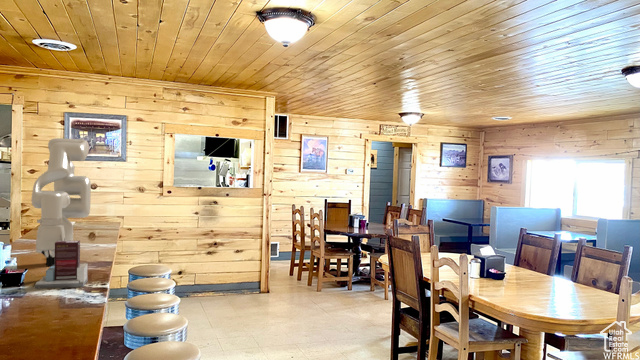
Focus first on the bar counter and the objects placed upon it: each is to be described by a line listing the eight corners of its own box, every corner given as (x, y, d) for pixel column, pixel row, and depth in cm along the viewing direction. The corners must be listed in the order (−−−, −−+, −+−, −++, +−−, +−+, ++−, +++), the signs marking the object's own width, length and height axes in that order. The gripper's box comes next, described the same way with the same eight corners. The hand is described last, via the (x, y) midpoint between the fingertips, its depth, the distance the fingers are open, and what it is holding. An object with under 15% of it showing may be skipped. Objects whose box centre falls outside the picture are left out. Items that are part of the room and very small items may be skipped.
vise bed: (41, 282, 194) (42, 263, 193) (87, 280, 199) (88, 262, 198) (34, 288, 184) (35, 269, 184) (83, 286, 189) (83, 268, 189)
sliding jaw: (55, 273, 202) (56, 262, 202) (62, 273, 202) (62, 262, 202) (45, 283, 186) (46, 270, 186) (52, 283, 187) (53, 270, 187)
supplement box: (80, 278, 196) (80, 240, 195) (77, 281, 191) (78, 242, 190) (56, 279, 193) (57, 240, 193) (53, 282, 188) (54, 242, 188)
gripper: (28, 223, 192) (27, 268, 192) (69, 223, 196) (68, 267, 196) (33, 221, 199) (33, 265, 199) (73, 221, 203) (72, 264, 204)
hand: (50, 266), depth 198 cm, fingers closed
